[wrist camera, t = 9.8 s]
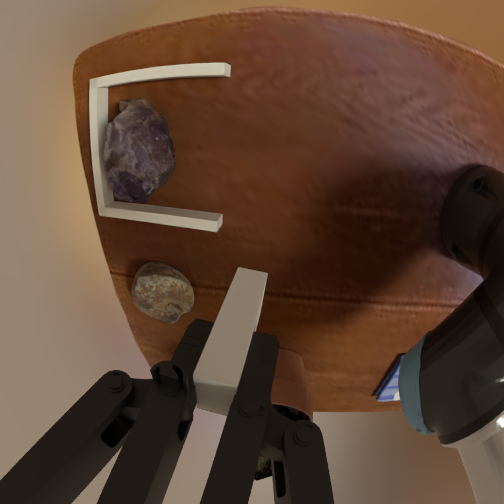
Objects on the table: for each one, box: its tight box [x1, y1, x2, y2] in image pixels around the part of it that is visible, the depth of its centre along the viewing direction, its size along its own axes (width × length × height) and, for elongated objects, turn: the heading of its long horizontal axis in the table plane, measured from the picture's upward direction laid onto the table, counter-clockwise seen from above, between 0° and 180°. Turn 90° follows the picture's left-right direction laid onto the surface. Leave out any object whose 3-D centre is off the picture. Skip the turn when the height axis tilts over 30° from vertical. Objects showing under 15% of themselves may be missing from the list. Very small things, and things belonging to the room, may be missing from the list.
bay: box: [89, 63, 231, 232], centre depth 32 cm, size 20×21×2 cm
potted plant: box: [254, 348, 313, 480], centre depth 40 cm, size 14×14×25 cm
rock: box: [103, 98, 176, 202], centre depth 29 cm, size 12×9×10 cm
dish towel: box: [375, 354, 405, 401], centre depth 46 cm, size 17×24×3 cm
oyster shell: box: [131, 262, 194, 324], centre depth 44 cm, size 11×15×6 cm
